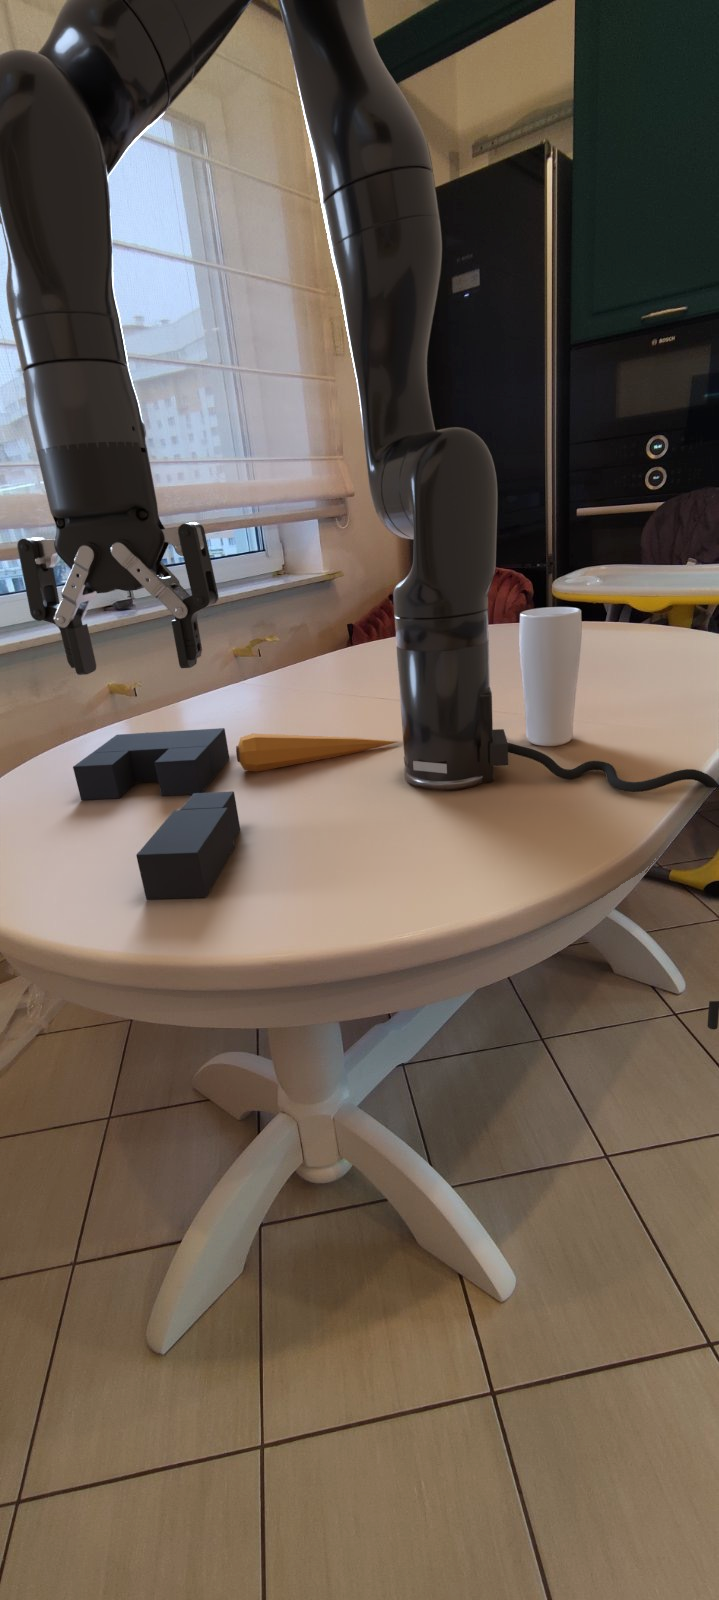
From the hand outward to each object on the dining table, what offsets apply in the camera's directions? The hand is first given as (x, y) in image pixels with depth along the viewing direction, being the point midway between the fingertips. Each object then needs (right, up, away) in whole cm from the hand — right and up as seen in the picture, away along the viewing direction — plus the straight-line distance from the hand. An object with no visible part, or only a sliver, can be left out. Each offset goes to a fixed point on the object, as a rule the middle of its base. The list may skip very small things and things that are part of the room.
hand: (137, 669), depth 57 cm
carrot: (+13, -6, +30) cm, 33 cm away
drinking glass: (+40, -4, +28) cm, 49 cm away
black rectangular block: (+4, -16, +6) cm, 17 cm away
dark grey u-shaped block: (-6, -8, +28) cm, 30 cm away
